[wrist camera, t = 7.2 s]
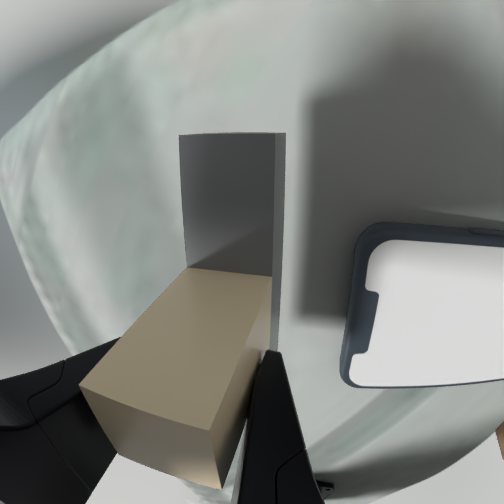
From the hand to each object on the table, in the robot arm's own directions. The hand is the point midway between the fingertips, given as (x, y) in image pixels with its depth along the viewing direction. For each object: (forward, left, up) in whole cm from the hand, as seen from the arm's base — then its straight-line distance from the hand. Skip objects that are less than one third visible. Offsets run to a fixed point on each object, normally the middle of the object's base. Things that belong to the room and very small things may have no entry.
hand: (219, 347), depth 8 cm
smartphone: (0, -12, -7) cm, 14 cm away
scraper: (+1, 0, -3) cm, 3 cm away
